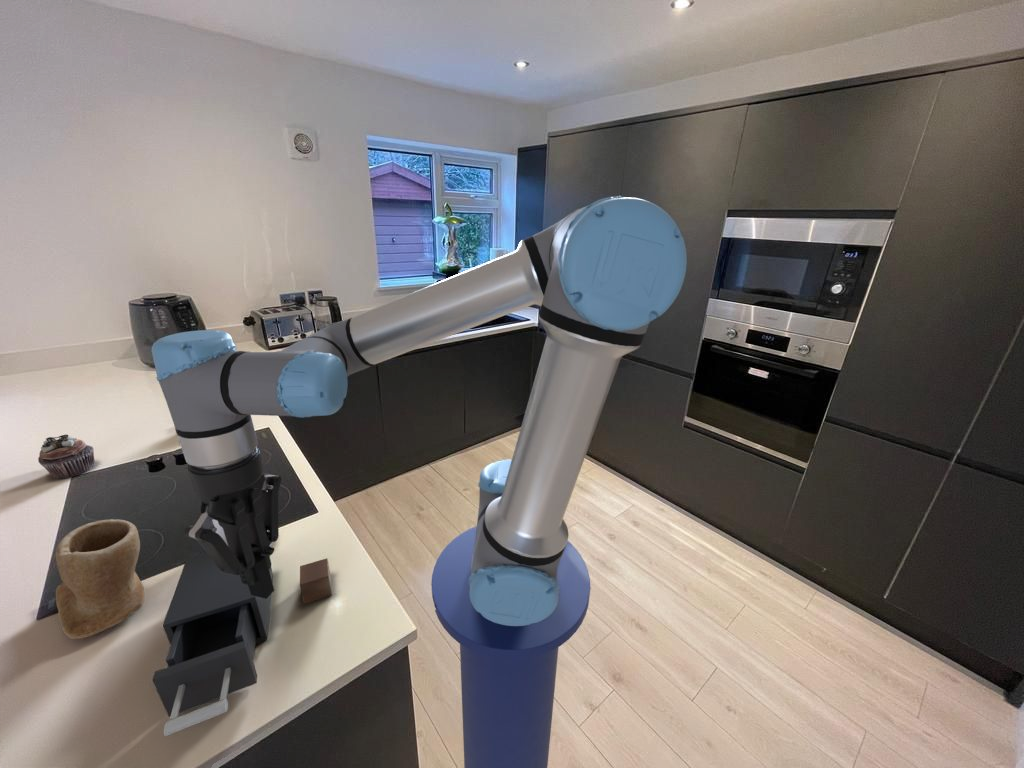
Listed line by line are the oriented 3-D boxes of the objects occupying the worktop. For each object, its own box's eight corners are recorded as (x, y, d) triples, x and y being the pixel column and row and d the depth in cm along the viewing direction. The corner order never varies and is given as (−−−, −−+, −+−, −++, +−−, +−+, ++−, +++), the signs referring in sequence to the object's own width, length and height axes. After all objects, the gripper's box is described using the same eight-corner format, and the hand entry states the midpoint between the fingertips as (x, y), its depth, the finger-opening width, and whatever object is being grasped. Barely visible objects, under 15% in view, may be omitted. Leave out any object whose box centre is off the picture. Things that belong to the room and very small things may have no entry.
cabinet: (267, 639, 63) (255, 596, 60) (180, 669, 58) (162, 625, 55) (273, 575, 74) (263, 537, 71) (201, 597, 70) (187, 557, 67)
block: (330, 576, 75) (327, 557, 73) (332, 595, 71) (328, 575, 69) (304, 584, 73) (300, 565, 71) (304, 604, 69) (299, 584, 67)
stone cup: (167, 604, 68) (139, 535, 63) (66, 656, 60) (25, 581, 54) (148, 559, 77) (123, 495, 72) (59, 598, 69) (22, 529, 64)
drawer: (252, 726, 51) (239, 689, 49) (154, 766, 47) (135, 729, 45) (264, 611, 67) (255, 578, 64) (191, 634, 62) (178, 600, 60)
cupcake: (102, 469, 105) (88, 435, 101) (48, 485, 98) (31, 450, 94) (96, 456, 111) (83, 424, 107) (44, 471, 104) (28, 437, 100)
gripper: (243, 427, 57) (275, 555, 65) (145, 478, 45) (200, 626, 53) (287, 434, 55) (315, 564, 64) (198, 489, 43) (246, 639, 52)
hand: (262, 592), depth 59 cm, fingers closed
